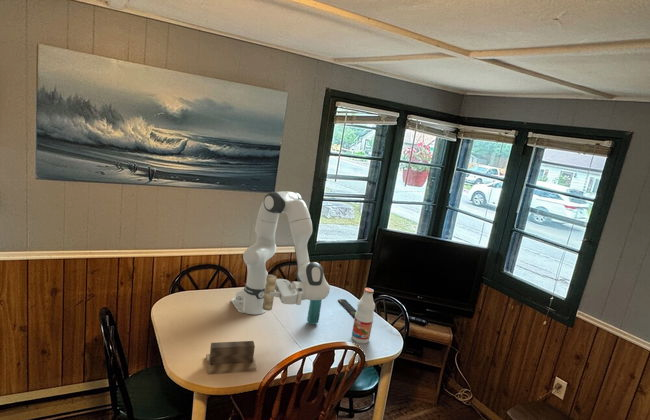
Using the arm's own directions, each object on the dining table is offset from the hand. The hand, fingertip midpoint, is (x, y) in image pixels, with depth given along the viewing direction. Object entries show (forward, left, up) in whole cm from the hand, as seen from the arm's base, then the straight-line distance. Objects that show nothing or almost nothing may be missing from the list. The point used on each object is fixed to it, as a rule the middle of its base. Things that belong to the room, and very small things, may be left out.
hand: (267, 290), depth 191 cm
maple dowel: (0, +1, -9) cm, 9 cm away
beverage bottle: (-5, +36, -28) cm, 46 cm away
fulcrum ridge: (+7, -20, -28) cm, 35 cm away
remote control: (-8, +68, -28) cm, 75 cm away
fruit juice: (+19, +49, -28) cm, 60 cm away
